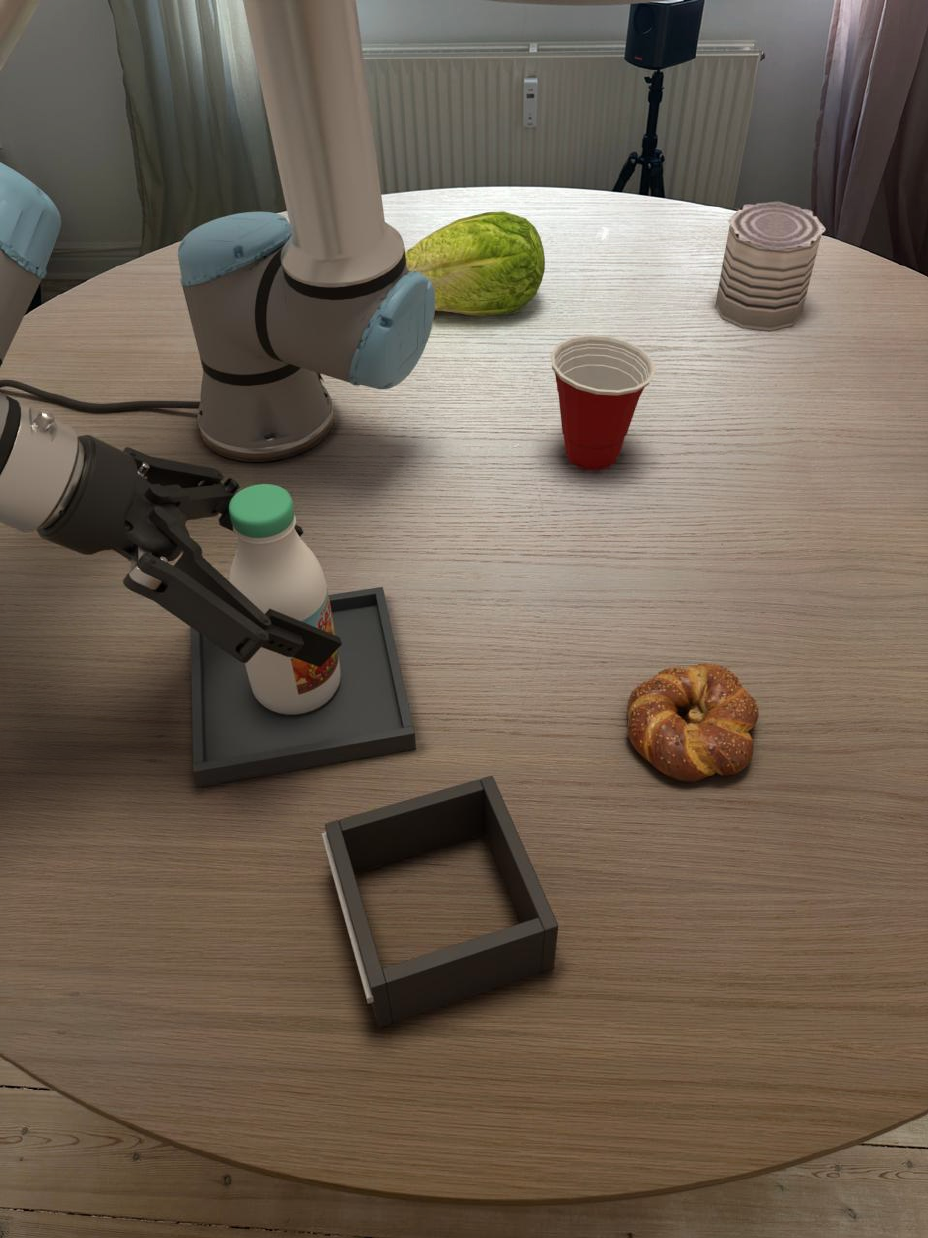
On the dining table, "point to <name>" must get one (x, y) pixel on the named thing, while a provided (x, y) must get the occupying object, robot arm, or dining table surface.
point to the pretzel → (693, 722)
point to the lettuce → (481, 264)
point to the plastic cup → (598, 395)
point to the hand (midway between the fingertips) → (310, 593)
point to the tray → (335, 732)
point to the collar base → (462, 964)
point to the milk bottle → (281, 597)
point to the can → (767, 265)
